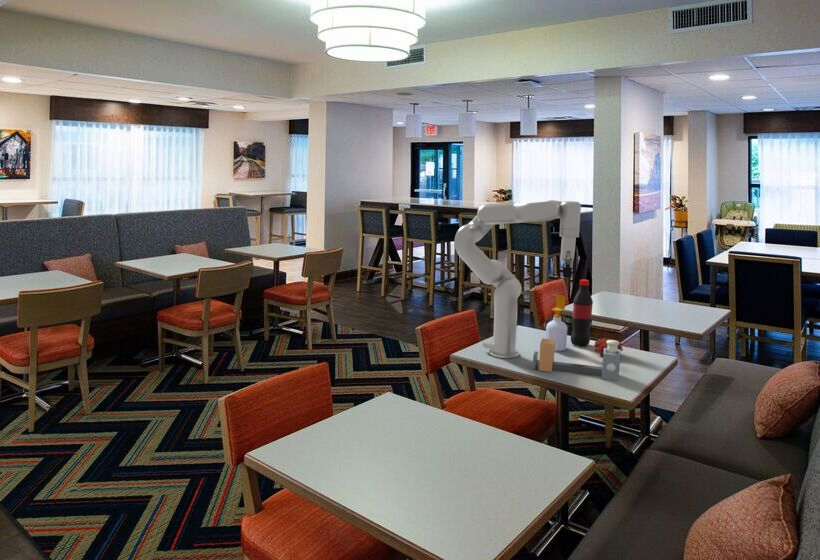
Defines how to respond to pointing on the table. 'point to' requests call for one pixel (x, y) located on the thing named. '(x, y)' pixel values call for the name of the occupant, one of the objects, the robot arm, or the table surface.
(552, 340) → the wooden block
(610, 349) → the plunger
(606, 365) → the grey boxy piece
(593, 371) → the rail
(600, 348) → the dragon fruit
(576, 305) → the cola bottle
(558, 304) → the soap bottle
